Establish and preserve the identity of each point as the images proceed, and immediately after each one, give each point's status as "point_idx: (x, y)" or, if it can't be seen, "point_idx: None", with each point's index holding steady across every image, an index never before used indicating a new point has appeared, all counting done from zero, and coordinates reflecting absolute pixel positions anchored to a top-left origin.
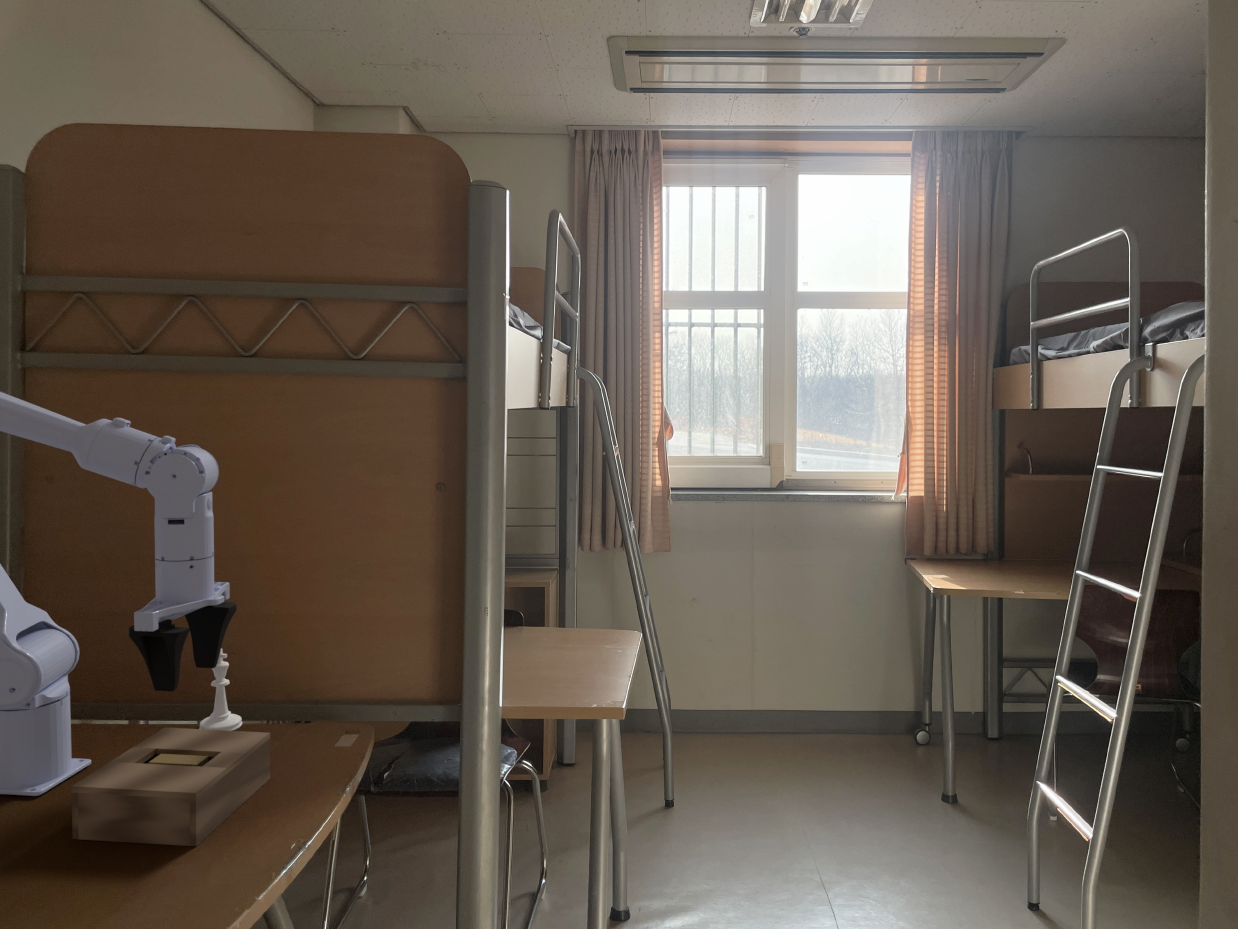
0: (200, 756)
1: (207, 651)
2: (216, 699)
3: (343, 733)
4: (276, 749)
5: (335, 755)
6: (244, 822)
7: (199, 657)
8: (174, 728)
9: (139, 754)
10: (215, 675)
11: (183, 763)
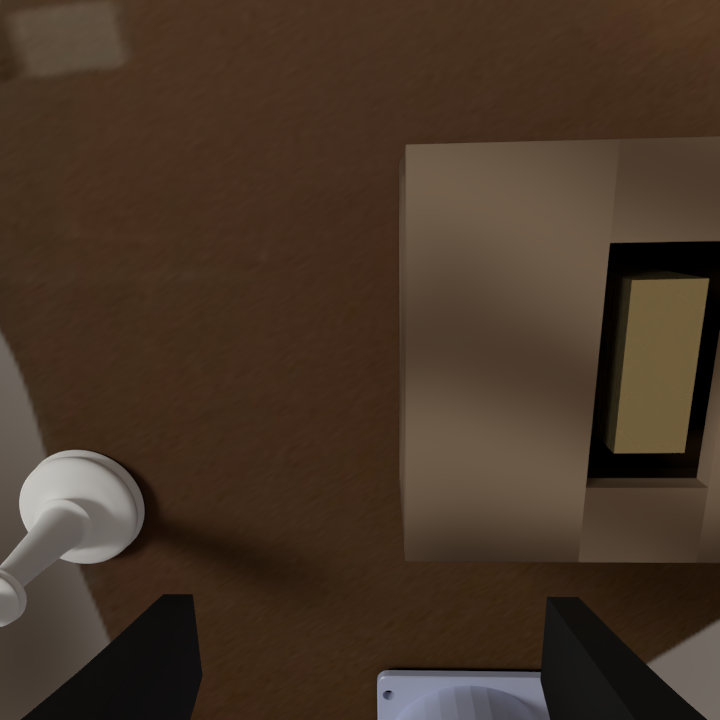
0: (635, 306)
1: (154, 707)
2: (46, 564)
3: (20, 81)
4: (197, 255)
5: (199, 21)
6: (683, 91)
7: (177, 713)
8: (410, 525)
9: (638, 510)
10: None
11: (699, 332)
